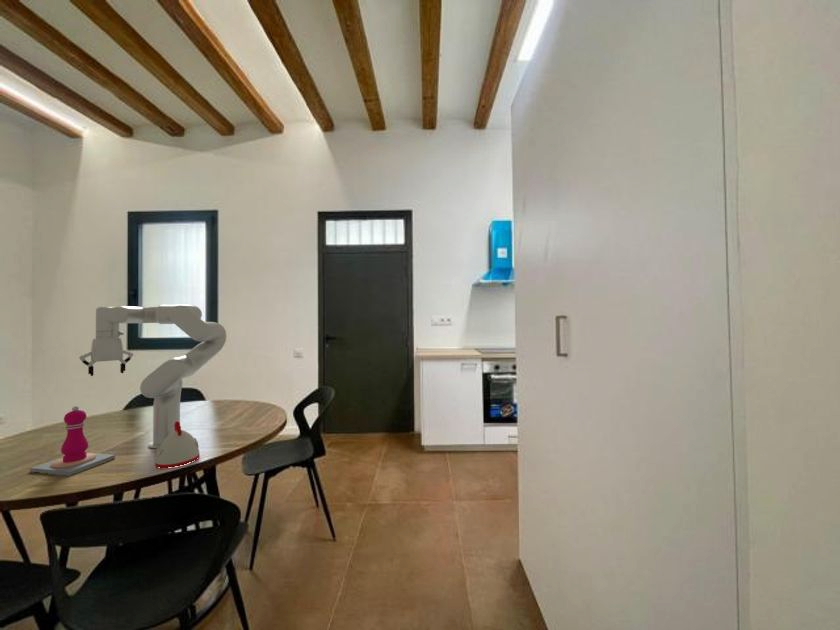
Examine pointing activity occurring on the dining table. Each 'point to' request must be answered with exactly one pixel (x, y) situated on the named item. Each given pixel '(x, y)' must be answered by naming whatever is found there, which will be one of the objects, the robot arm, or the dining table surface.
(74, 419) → the pepper mill
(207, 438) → the dining table surface
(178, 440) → the kitchen timer
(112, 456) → the slate board
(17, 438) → the dining table surface
